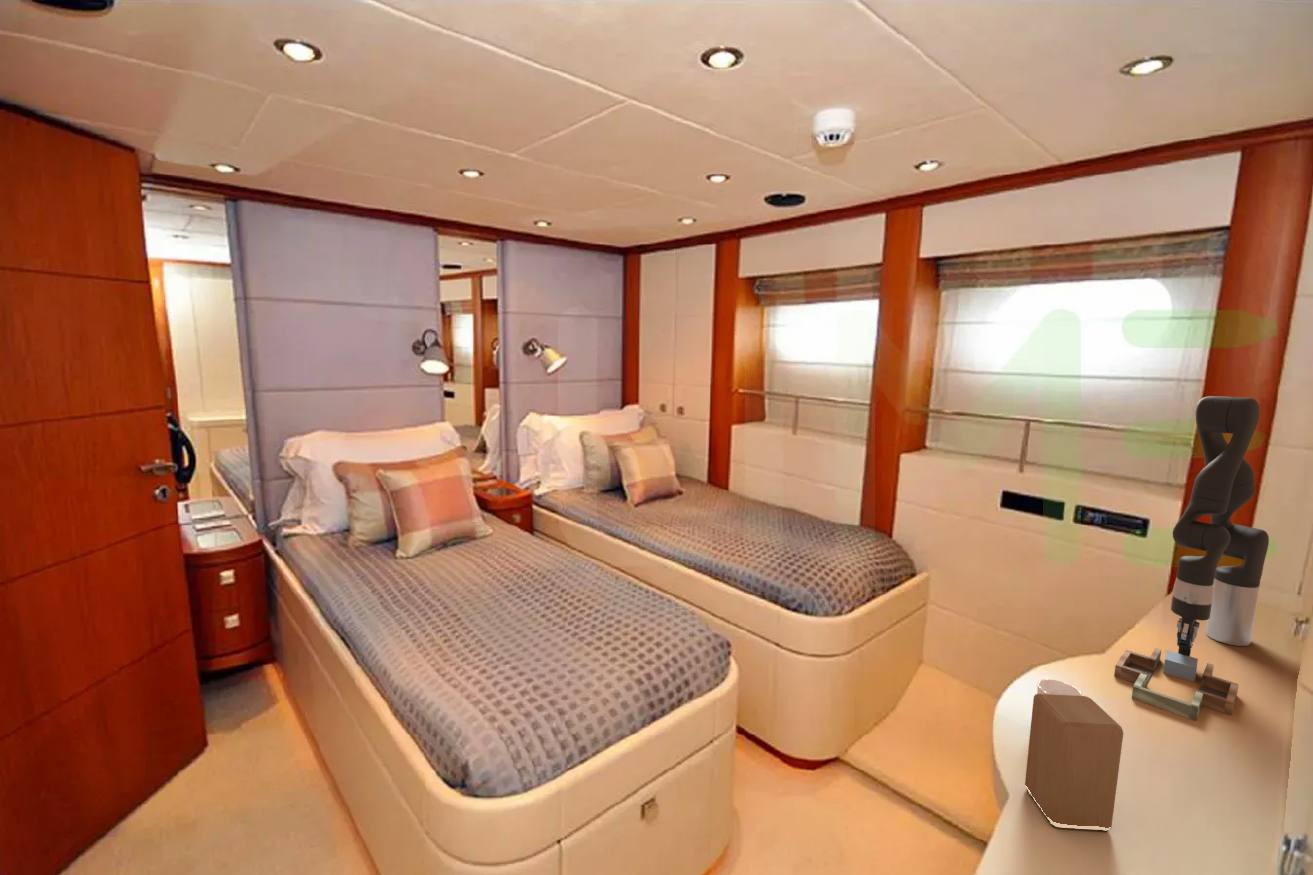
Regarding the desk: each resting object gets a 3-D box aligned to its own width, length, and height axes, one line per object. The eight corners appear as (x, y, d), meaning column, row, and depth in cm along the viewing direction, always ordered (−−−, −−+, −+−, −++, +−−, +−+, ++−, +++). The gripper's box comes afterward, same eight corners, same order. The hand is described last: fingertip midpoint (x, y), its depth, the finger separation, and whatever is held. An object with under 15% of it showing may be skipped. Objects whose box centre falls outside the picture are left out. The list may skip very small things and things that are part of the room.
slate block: (1164, 664, 154) (1166, 650, 153) (1195, 672, 150) (1197, 658, 149) (1163, 673, 150) (1165, 659, 149) (1194, 682, 145) (1196, 668, 145)
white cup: (1070, 724, 129) (1074, 682, 128) (1082, 746, 122) (1087, 703, 121) (1029, 717, 132) (1033, 676, 130) (1039, 738, 125) (1043, 695, 123)
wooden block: (1077, 791, 110) (1089, 693, 107) (1113, 834, 100) (1127, 728, 97) (1022, 787, 111) (1031, 690, 108) (1051, 830, 101) (1063, 725, 98)
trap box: (1130, 650, 160) (1132, 640, 160) (1239, 683, 144) (1241, 672, 144) (1105, 688, 143) (1107, 677, 142) (1226, 731, 127) (1228, 718, 126)
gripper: (1177, 586, 157) (1169, 646, 160) (1168, 599, 149) (1159, 663, 151) (1215, 594, 151) (1206, 656, 154) (1208, 609, 143) (1198, 675, 146)
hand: (1183, 659), depth 153 cm, fingers closed
